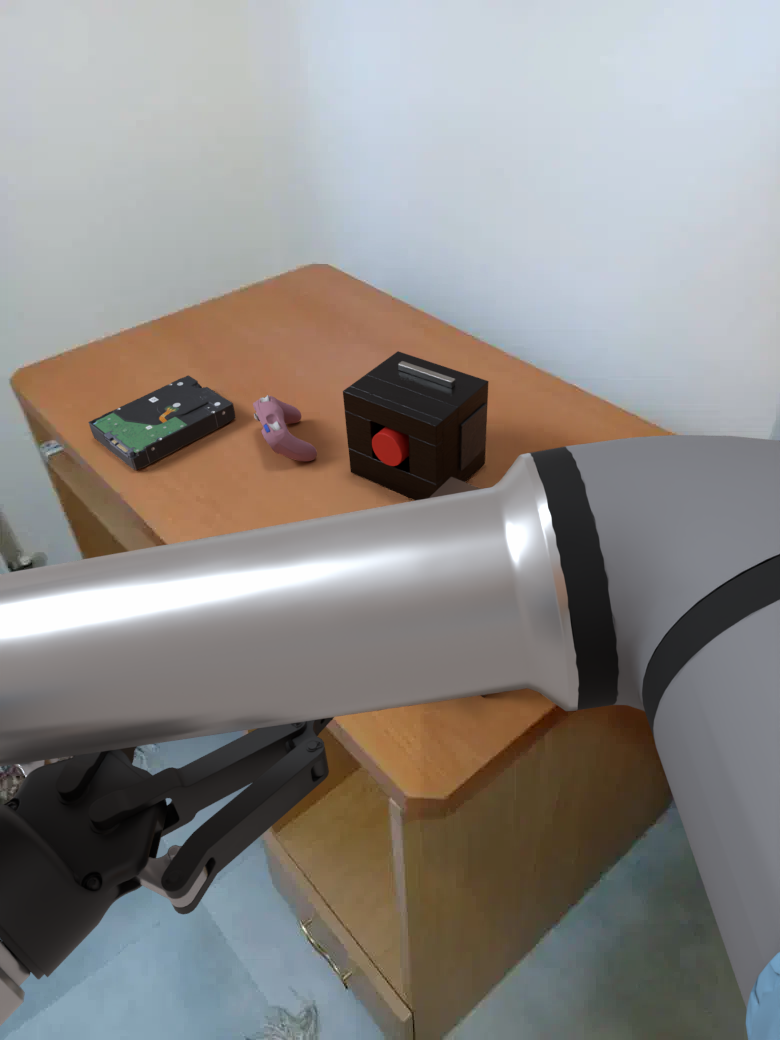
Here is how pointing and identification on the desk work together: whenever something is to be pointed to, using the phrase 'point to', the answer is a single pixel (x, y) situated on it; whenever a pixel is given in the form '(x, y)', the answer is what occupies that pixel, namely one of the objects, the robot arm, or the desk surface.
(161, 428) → the disk drive
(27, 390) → the desk surface
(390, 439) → the button
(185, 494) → the desk surface
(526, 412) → the desk surface
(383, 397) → the dark button box
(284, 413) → the video game controller
